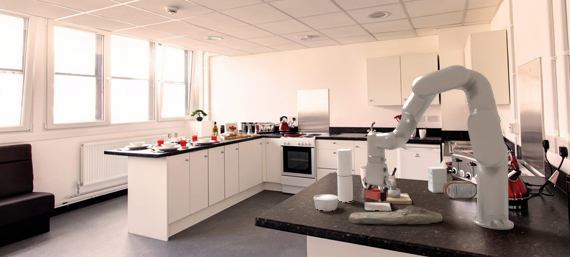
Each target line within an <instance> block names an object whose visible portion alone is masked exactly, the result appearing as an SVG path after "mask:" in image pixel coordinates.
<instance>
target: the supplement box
mask: <svg viewBox="0 0 570 257" xmlns="http://www.w3.org/2000/svg"><path fill="white" fill-rule="evenodd" d="M427 181H428V182H427V183H428V184H427V185H428V188H427V189H428V191H430V192H431V193H433V194H434V193H439V194H444V192H443V187H444V185H445V184H446V183H447V182H448V170H447V168H446V167H443V166H427Z"/></svg>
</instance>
